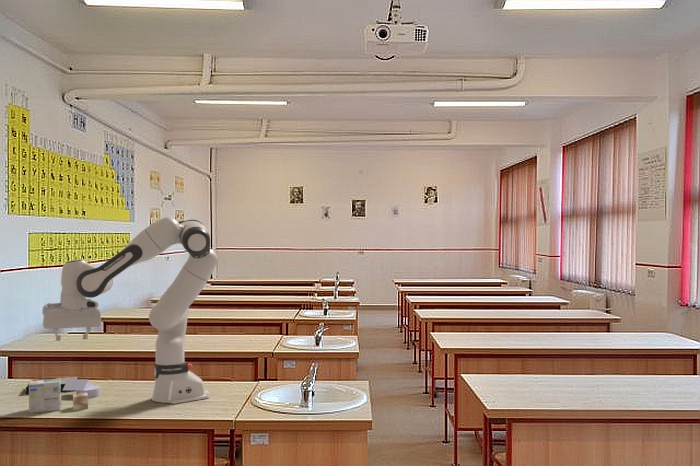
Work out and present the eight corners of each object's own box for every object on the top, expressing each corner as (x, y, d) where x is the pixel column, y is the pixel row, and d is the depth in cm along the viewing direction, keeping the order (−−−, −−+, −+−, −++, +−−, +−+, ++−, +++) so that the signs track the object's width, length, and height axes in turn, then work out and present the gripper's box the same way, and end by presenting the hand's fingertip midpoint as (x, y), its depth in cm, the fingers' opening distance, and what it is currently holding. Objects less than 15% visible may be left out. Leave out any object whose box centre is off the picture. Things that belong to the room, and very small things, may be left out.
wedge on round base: (62, 398, 264) (94, 398, 263) (62, 381, 264) (94, 382, 263) (73, 393, 273) (104, 393, 272) (73, 376, 273) (103, 377, 272)
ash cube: (87, 405, 253) (87, 392, 253) (88, 408, 249) (87, 395, 249) (73, 407, 251) (72, 394, 251) (73, 410, 247) (73, 397, 247)
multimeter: (30, 388, 283) (30, 376, 283) (79, 385, 289) (79, 373, 289) (25, 395, 271) (25, 383, 271) (76, 392, 277) (76, 380, 277)
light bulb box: (61, 406, 253) (61, 377, 253) (60, 410, 246) (60, 381, 246) (30, 409, 249) (30, 380, 249) (28, 413, 243) (28, 384, 243)
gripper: (43, 304, 242) (42, 342, 241) (102, 303, 252) (101, 339, 252) (41, 302, 247) (40, 340, 247) (99, 301, 258) (98, 337, 257)
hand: (71, 339), depth 250 cm, fingers open, 8 cm apart
